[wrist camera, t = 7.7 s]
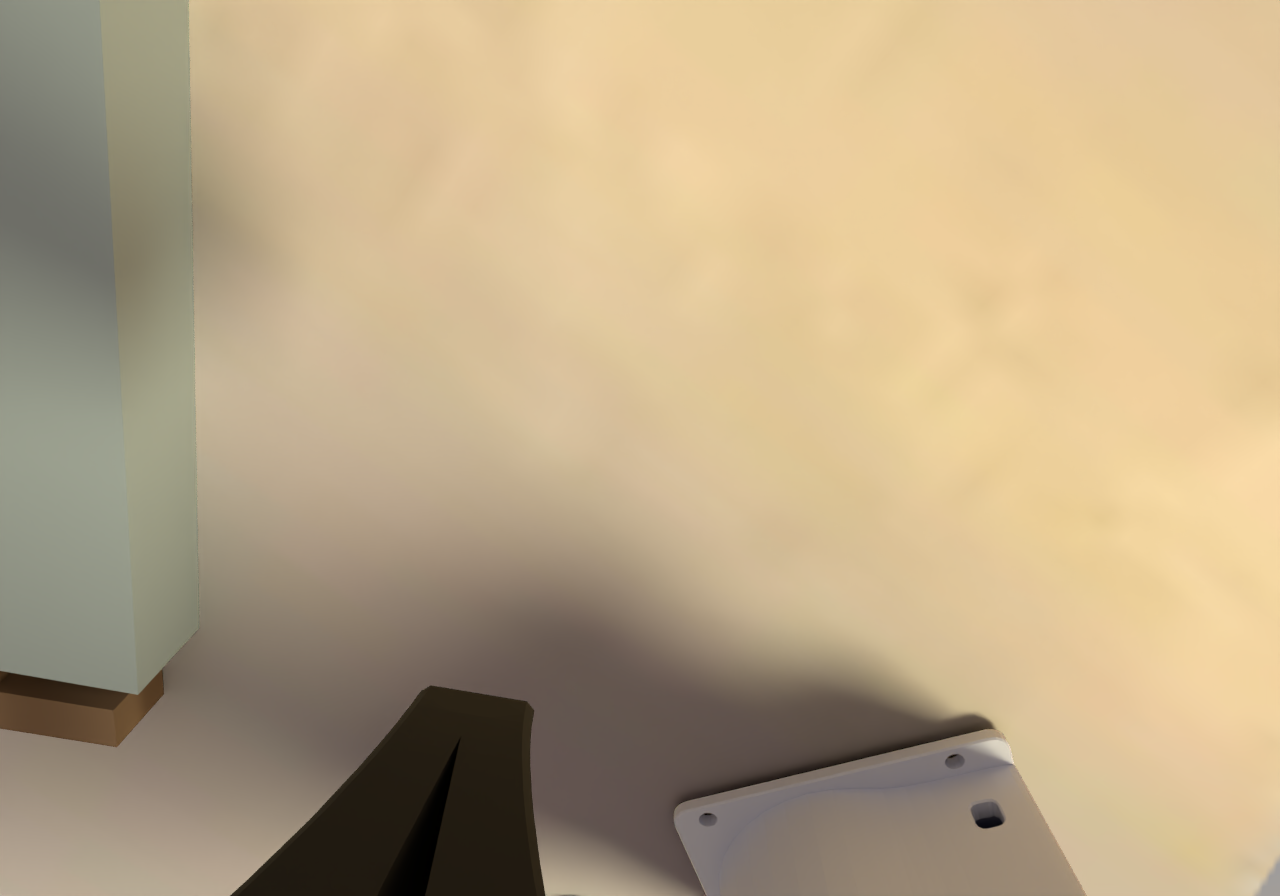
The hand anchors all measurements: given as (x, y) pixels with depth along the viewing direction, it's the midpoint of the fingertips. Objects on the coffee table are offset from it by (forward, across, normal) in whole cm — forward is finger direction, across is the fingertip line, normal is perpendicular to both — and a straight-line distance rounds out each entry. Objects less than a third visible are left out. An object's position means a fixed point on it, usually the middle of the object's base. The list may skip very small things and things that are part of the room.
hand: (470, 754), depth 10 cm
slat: (+10, +11, -1) cm, 15 cm away
